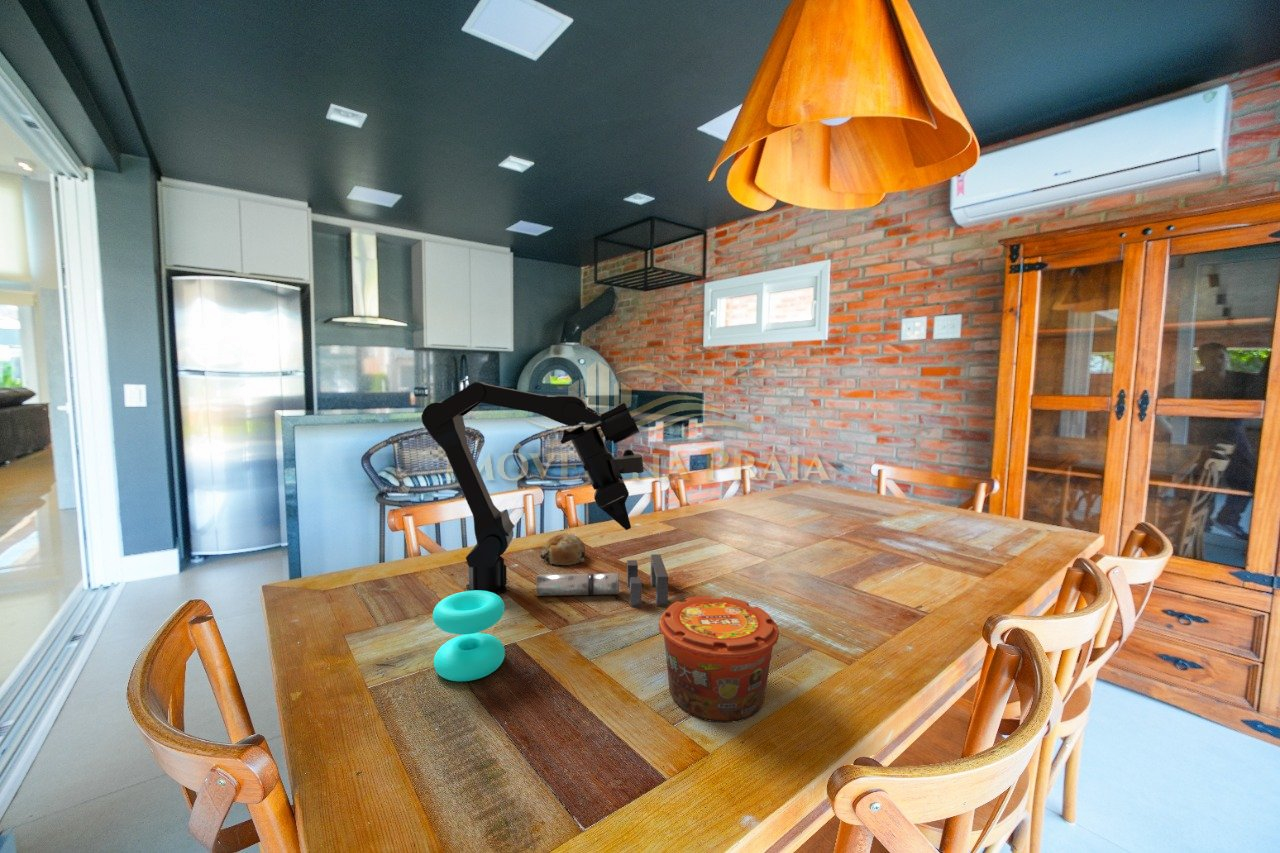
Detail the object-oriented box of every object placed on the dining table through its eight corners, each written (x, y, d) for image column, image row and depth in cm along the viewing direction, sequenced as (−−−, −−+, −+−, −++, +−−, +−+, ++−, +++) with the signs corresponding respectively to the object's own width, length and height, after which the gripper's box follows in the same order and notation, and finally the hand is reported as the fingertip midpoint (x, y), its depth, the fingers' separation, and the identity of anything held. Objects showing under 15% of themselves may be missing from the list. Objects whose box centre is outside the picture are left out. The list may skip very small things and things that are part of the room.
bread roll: (574, 582, 118) (589, 552, 117) (533, 563, 117) (548, 532, 117) (579, 567, 128) (593, 538, 127) (542, 549, 127) (556, 520, 127)
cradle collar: (630, 606, 97) (631, 583, 97) (627, 581, 109) (627, 560, 109) (641, 606, 97) (641, 583, 97) (636, 580, 110) (636, 560, 109)
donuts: (492, 617, 70) (420, 615, 71) (492, 687, 71) (421, 684, 72) (512, 588, 80) (449, 586, 81) (512, 649, 81) (450, 647, 82)
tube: (536, 599, 100) (536, 579, 99) (538, 590, 104) (538, 571, 103) (619, 597, 101) (619, 577, 101) (618, 589, 105) (618, 570, 105)
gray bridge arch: (657, 606, 97) (657, 576, 97) (650, 580, 110) (650, 554, 109) (667, 605, 98) (668, 576, 97) (659, 580, 110) (660, 554, 110)
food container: (694, 746, 60) (696, 658, 59) (639, 674, 75) (640, 603, 74) (802, 713, 67) (805, 633, 66) (732, 652, 81) (734, 586, 80)
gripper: (634, 441, 94) (670, 516, 96) (626, 432, 113) (656, 496, 114) (579, 467, 93) (615, 543, 95) (580, 455, 112) (611, 518, 114)
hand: (626, 522), depth 105 cm, fingers open, 9 cm apart
